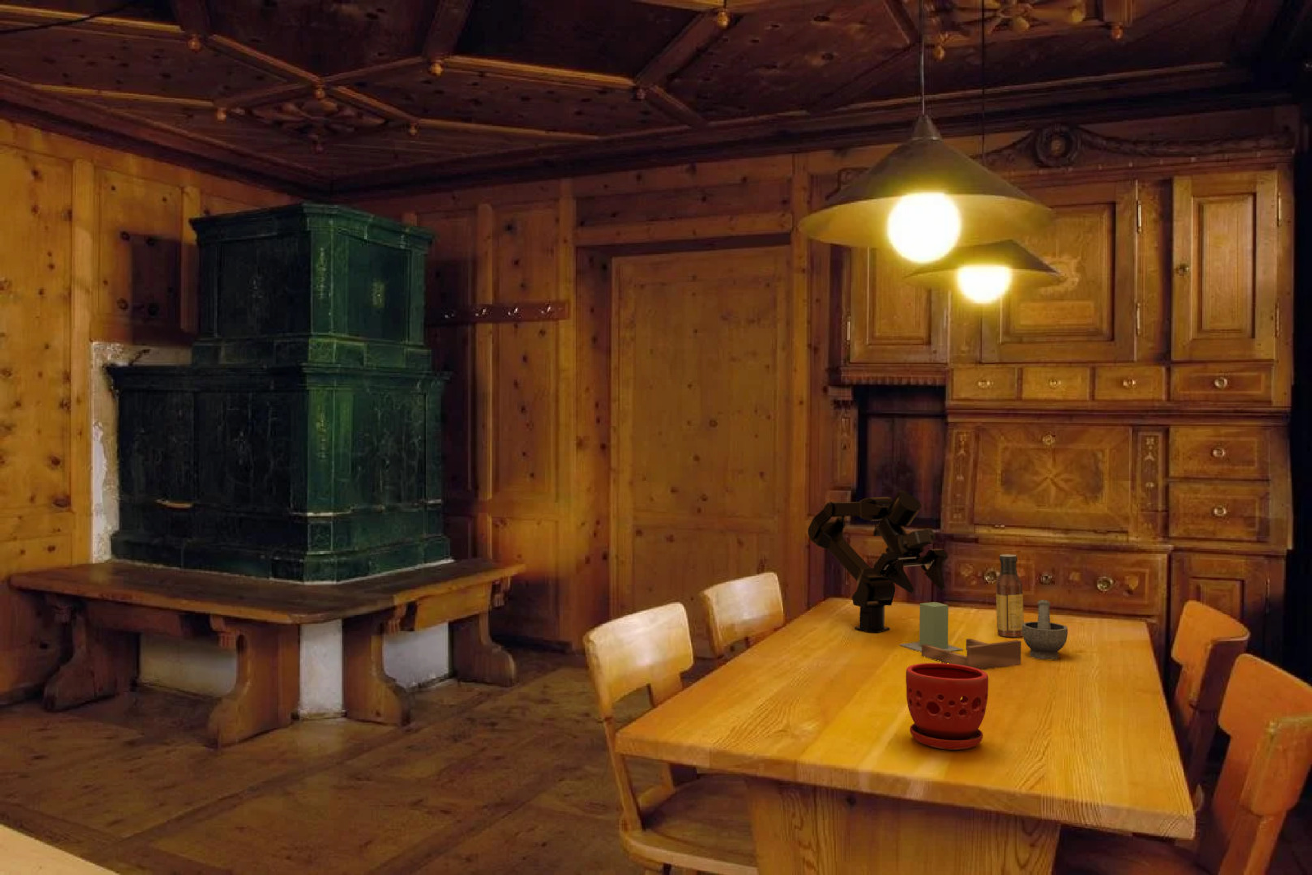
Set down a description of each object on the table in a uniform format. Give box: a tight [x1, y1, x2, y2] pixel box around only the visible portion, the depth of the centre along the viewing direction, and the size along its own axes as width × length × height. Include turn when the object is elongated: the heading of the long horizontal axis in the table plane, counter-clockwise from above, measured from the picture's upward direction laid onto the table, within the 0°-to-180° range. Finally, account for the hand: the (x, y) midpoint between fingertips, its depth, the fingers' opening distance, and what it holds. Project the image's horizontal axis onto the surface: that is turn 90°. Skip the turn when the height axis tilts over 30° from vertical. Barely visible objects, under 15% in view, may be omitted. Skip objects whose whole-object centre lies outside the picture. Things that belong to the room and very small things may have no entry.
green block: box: [918, 601, 949, 649], centre depth 231 cm, size 4×4×10 cm
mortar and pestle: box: [1022, 599, 1069, 661], centre depth 224 cm, size 11×9×12 cm
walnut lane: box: [921, 638, 1022, 671], centre depth 220 cm, size 15×14×5 cm
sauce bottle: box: [995, 553, 1025, 638], centre depth 245 cm, size 7×6×20 cm
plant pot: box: [905, 662, 989, 752], centre depth 165 cm, size 13×13×12 cm
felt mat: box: [899, 641, 964, 653], centre depth 232 cm, size 10×10×1 cm
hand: (928, 590), depth 232 cm, fingers open, 9 cm apart
